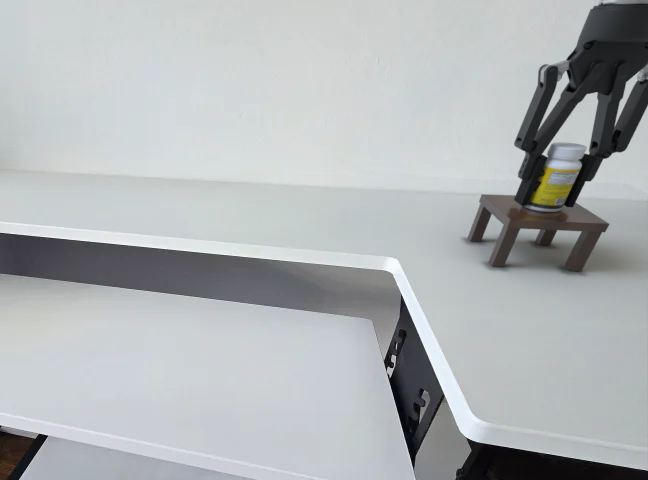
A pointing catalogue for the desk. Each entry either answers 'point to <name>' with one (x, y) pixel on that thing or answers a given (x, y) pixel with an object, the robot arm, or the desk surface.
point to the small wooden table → (536, 227)
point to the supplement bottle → (557, 177)
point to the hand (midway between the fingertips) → (542, 203)
